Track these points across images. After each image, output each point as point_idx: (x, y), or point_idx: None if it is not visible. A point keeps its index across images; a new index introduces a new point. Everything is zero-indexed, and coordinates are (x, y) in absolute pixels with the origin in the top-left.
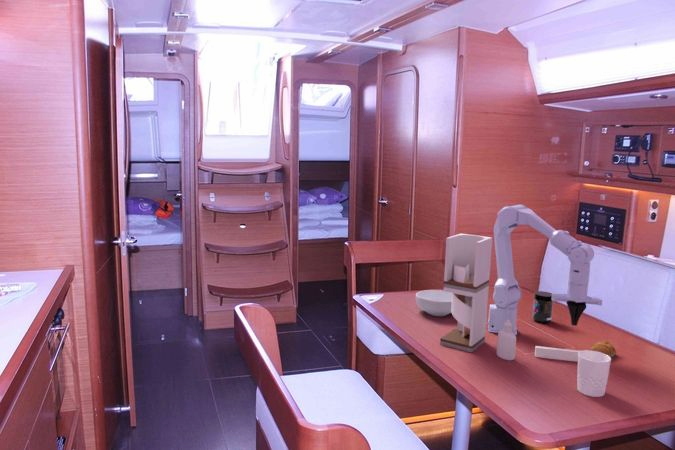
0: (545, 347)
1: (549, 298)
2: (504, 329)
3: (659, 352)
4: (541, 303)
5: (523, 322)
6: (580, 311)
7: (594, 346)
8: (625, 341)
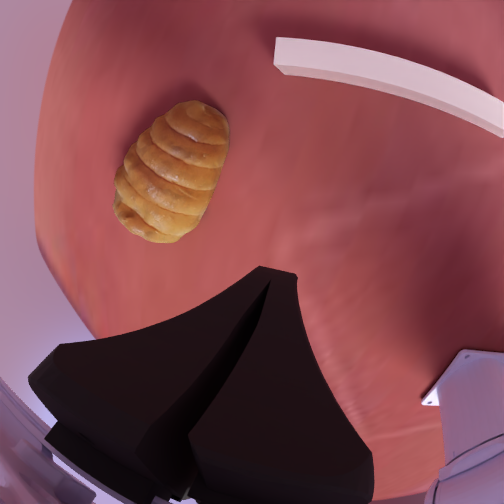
0: (491, 114)
1: None
2: None
3: (46, 232)
4: None
5: (365, 429)
6: (158, 347)
7: (188, 184)
8: (102, 304)
